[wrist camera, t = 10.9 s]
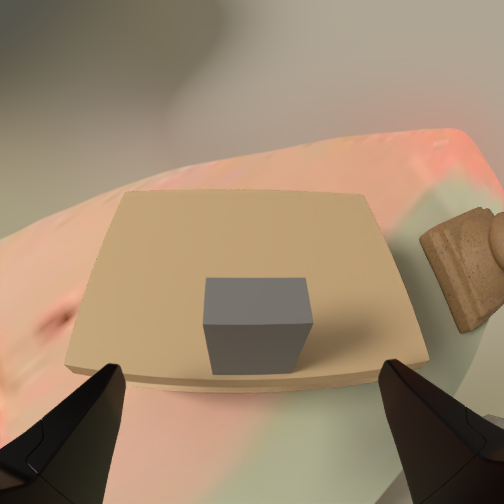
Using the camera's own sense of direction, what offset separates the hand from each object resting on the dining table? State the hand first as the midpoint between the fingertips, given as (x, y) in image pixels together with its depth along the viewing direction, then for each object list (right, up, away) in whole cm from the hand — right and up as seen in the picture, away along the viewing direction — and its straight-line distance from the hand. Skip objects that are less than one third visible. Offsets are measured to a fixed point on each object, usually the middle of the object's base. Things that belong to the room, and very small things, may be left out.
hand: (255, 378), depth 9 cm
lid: (0, +3, +6) cm, 7 cm away
